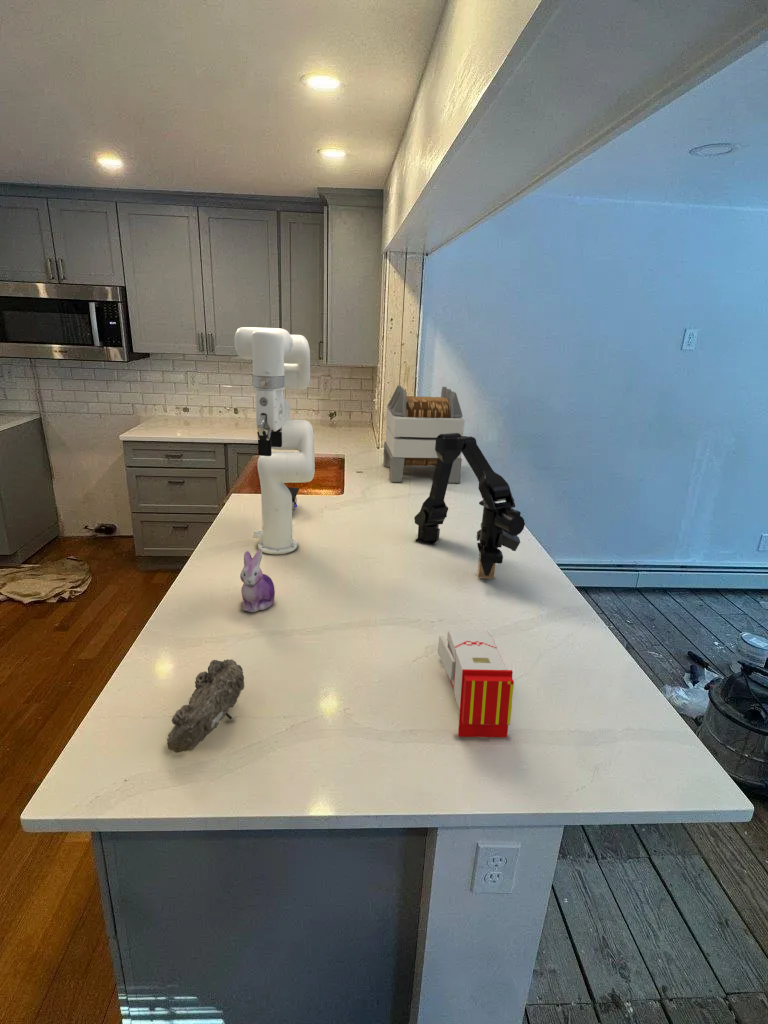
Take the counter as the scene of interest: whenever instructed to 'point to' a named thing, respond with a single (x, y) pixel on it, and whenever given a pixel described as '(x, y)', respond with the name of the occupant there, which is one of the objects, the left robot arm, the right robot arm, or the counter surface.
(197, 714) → the fossil
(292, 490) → the figurine character
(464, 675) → the toy
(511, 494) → the right robot arm
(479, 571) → the brown wooden cube
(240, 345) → the left robot arm
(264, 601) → the figurine
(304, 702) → the counter surface
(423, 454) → the transformer
